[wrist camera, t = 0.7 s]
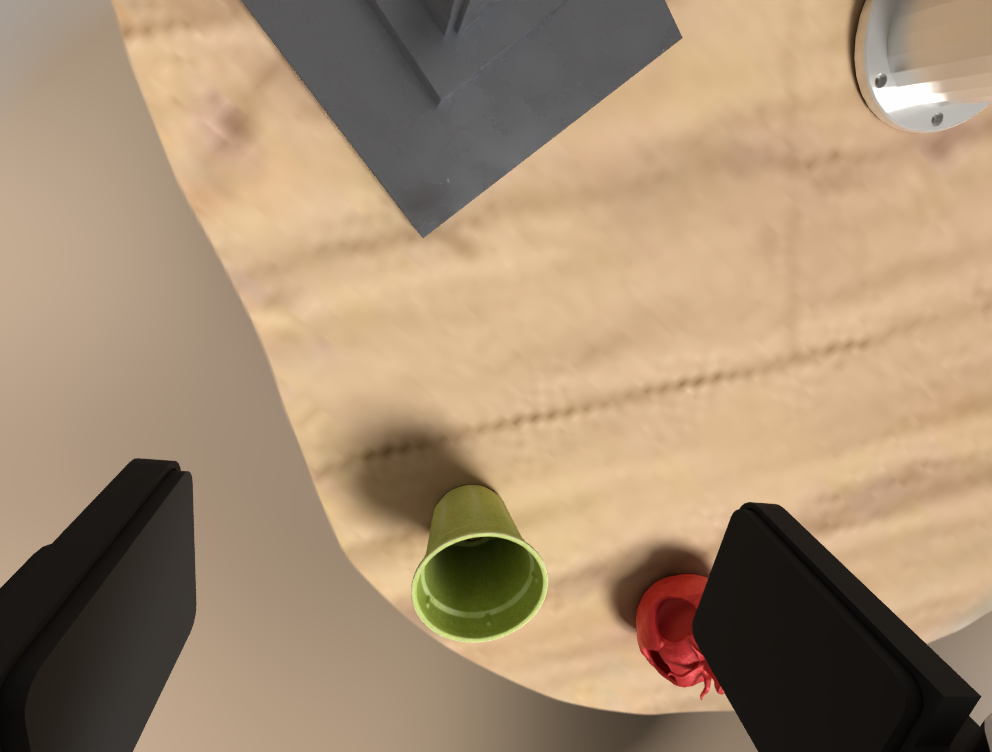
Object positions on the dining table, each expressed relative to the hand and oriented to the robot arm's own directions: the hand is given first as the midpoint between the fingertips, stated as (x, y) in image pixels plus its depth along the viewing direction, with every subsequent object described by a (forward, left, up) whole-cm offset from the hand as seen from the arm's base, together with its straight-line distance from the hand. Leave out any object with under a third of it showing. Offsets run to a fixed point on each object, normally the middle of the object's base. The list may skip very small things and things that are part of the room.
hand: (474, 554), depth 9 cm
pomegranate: (+1, +39, -31) cm, 50 cm away
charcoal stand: (-11, -12, -30) cm, 34 cm away
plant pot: (+10, +18, -31) cm, 37 cm away
